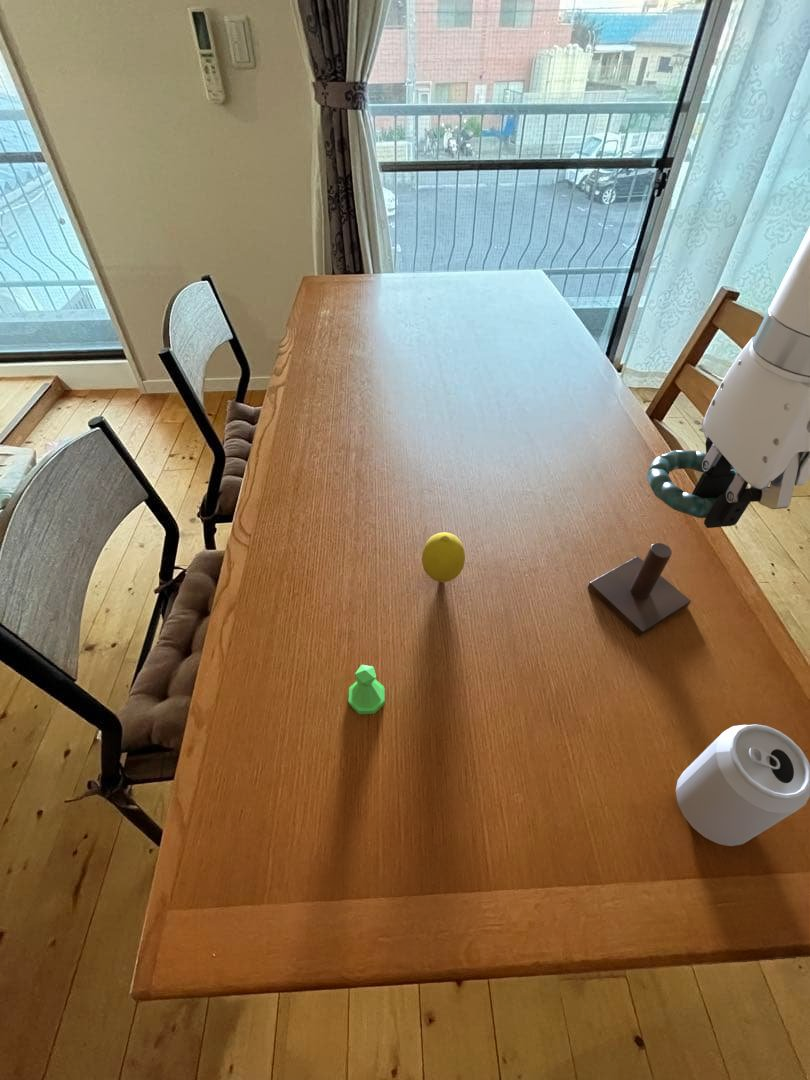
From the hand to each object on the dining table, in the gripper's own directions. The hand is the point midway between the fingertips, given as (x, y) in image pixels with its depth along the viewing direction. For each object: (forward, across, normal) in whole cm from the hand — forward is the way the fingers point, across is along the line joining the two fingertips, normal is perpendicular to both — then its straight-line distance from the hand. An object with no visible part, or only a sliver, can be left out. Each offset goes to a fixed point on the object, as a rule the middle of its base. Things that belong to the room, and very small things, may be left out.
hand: (711, 512), depth 56 cm
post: (+19, +4, 0) cm, 19 cm away
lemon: (+19, +10, +25) cm, 33 cm away
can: (+19, -22, +3) cm, 29 cm away
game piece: (+19, -6, +36) cm, 41 cm away
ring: (-1, +4, 0) cm, 4 cm away
